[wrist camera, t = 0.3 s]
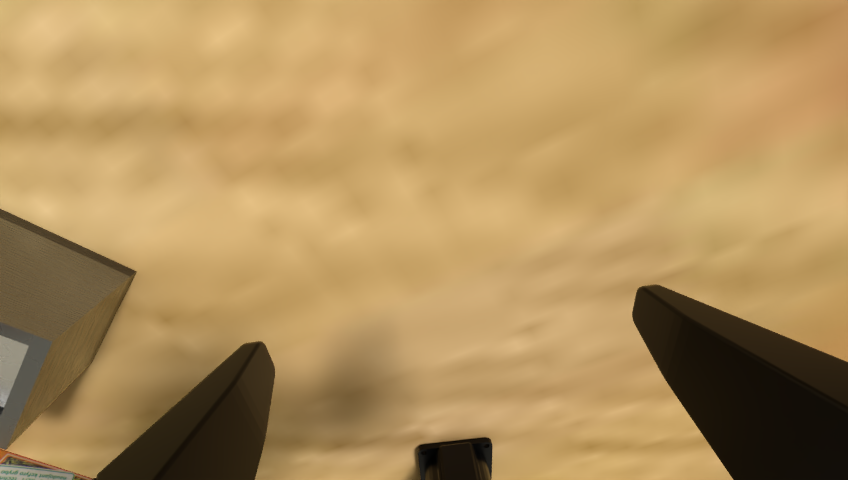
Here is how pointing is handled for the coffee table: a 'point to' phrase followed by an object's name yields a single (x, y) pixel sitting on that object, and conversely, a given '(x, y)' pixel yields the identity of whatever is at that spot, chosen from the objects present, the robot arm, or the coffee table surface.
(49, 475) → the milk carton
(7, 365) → the plunger
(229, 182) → the coffee table surface
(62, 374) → the press
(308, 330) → the coffee table surface
